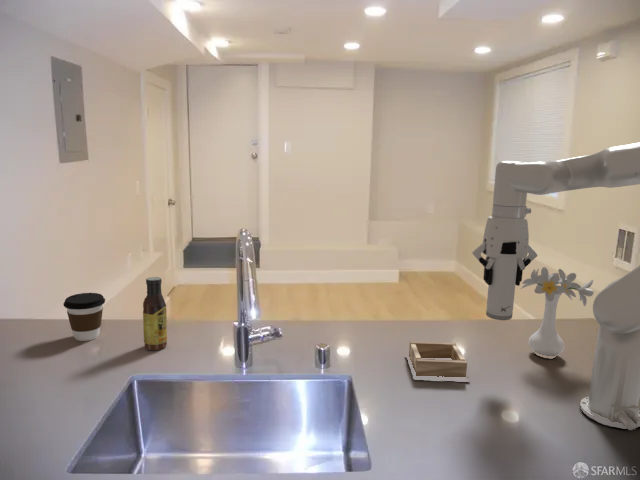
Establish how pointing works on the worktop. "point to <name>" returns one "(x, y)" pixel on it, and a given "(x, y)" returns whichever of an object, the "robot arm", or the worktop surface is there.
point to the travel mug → (503, 283)
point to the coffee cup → (85, 315)
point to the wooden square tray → (437, 367)
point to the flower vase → (553, 307)
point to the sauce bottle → (154, 316)
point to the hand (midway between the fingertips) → (502, 283)
